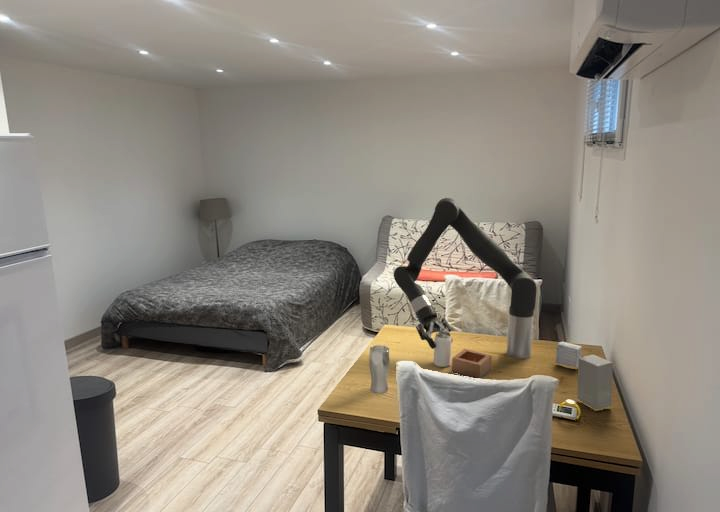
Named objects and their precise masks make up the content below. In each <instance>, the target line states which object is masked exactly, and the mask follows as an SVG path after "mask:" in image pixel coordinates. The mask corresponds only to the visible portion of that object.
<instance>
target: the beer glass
mask: <svg viewBox="0 0 720 512" xmlns="http://www.w3.org/2000/svg"><path fill="white" fill-rule="evenodd" d="M390 359H391V356H390V347H388V346H386V345H381V344H377V345H372V346H370V347H369V357H368V361H369V362H368V364H369V370H370V378H371V382H370V389H369V390H370V392H371V393H373V394H377V395H381V394H386V393H387V392H388V391H389V388H388V387H389V386H388V374H389V371H390V369H389V368H390V361H391V360H390Z"/></svg>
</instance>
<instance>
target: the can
mask: <svg viewBox="0 0 720 512" xmlns="http://www.w3.org/2000/svg"><path fill="white" fill-rule="evenodd" d="M451 338H452V337H451V334H450V332H449V333H446V332H435V336H434V338H433V341H434V343H435V345H436V347H435V348H434V349H433V364H434V365H435V367H438V366H439V367H438V368H448V367H450V366H451V365H452V343H453V342H452V340H453V338H452V339H451ZM451 342H452V343H451ZM449 365H450V366H449ZM447 366H448V367H447Z"/></svg>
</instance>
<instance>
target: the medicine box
mask: <svg viewBox="0 0 720 512" xmlns="http://www.w3.org/2000/svg"><path fill="white" fill-rule="evenodd" d="M582 350H583V346H581V345H579V344H574V343H570V342H566V341H560V342H558V344H556V354H555V356H556V358H555V364H556V363H558V364H563V365H567V366H572V367H578V362H579V358H580V357H582V353H583V352H582Z"/></svg>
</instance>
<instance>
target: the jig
mask: <svg viewBox="0 0 720 512" xmlns="http://www.w3.org/2000/svg"><path fill="white" fill-rule="evenodd" d="M492 358H493V357H492V354H489V353H488V354H487V353H483V352H478V351H474V350H471V349H466V348H463V349H462V350H461V351H460V352H459V353H457V354H456V355H455V356H453V357H451V373H452V372H453V373H458V374H460V375H463V376H462V377H464V376H469V377H473V378H482V379H483V378H484V377H486V375H488V373H490V372H491V371H492ZM453 373H452V374H453ZM460 375H459V376H460Z"/></svg>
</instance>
